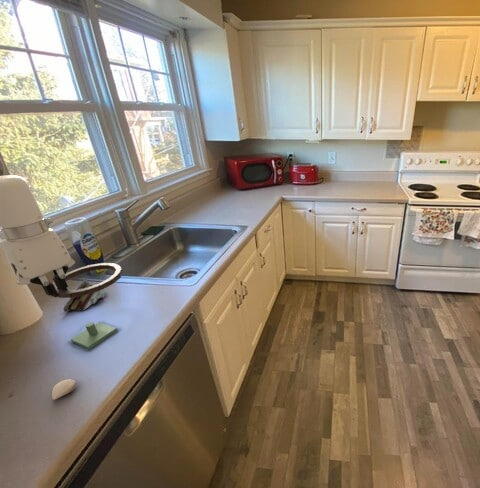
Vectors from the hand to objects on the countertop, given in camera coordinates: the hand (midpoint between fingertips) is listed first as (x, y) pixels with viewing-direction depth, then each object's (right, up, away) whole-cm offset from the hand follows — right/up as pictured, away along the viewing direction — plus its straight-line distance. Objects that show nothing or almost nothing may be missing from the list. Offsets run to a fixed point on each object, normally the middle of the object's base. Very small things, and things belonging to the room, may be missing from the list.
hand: (58, 293), depth 74 cm
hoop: (+3, +2, +6) cm, 7 cm away
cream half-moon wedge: (+8, -23, -7) cm, 25 cm away
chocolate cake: (-12, -8, +24) cm, 28 cm away
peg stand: (+2, -15, +9) cm, 17 cm away
